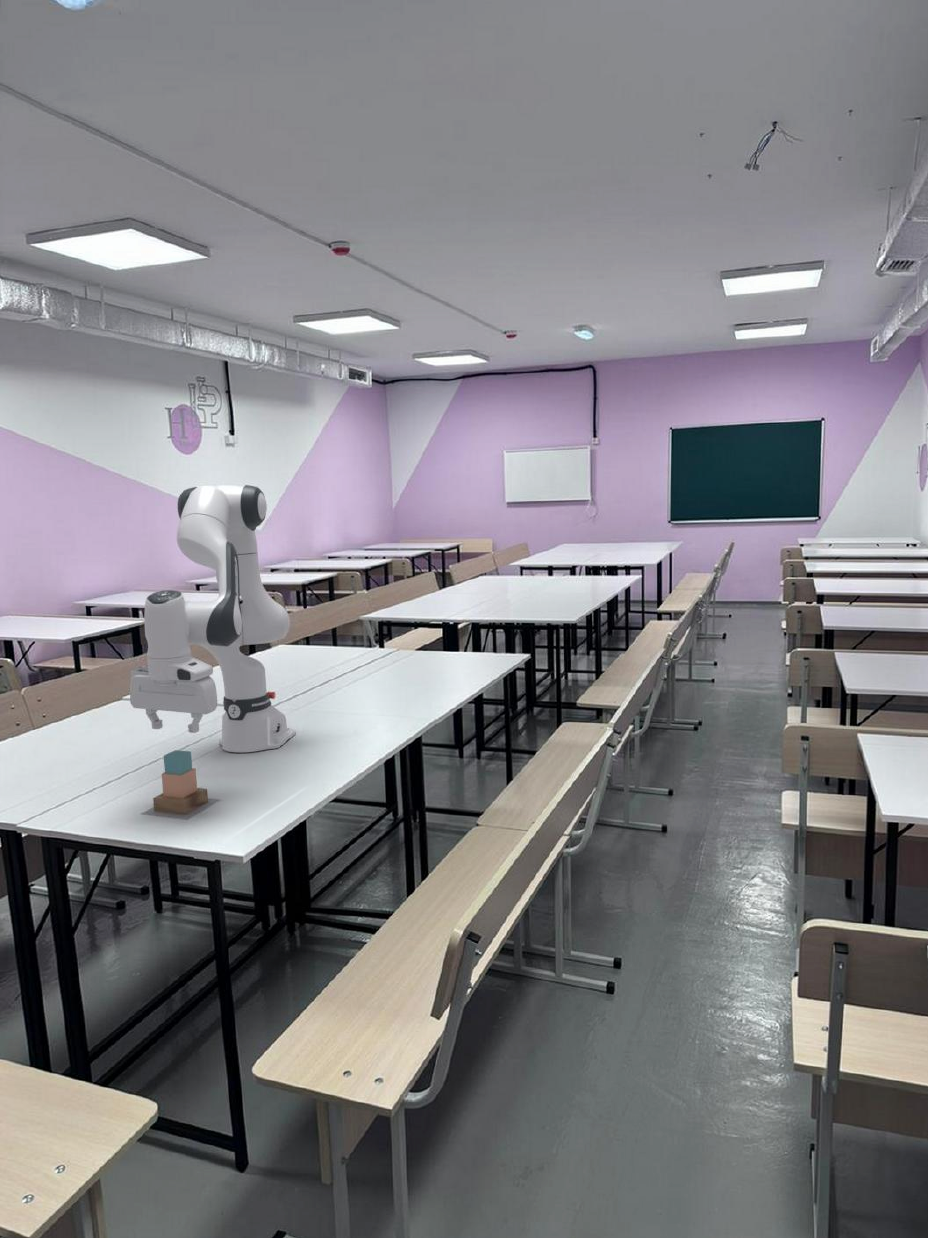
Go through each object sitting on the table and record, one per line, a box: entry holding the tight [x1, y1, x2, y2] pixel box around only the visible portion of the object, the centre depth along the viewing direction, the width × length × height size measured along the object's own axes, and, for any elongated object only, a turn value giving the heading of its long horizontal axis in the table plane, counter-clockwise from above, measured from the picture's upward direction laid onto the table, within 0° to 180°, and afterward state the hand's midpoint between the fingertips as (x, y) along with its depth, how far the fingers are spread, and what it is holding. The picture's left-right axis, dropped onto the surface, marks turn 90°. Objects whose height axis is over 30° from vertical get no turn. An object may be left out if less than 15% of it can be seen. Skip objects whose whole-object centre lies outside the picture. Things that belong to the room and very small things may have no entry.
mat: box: [140, 797, 222, 820], centre depth 183 cm, size 12×12×1 cm
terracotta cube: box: [161, 767, 198, 798], centre depth 182 cm, size 5×5×5 cm
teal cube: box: [163, 749, 193, 775], centre depth 182 cm, size 4×4×4 cm
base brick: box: [152, 787, 209, 815], centre depth 183 cm, size 8×8×3 cm
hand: (175, 730), depth 181 cm, fingers open, 8 cm apart
